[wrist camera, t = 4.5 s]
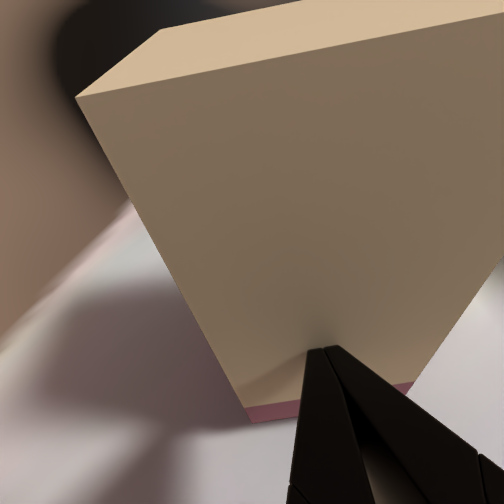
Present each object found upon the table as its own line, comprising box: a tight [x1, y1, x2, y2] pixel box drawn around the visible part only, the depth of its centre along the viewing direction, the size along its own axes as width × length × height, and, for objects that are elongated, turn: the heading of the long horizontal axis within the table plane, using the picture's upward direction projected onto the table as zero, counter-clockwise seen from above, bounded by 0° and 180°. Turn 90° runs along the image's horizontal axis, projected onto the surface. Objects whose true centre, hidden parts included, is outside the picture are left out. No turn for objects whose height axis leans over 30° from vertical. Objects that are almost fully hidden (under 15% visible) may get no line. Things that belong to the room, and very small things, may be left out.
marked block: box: [75, 0, 504, 423], centre depth 9 cm, size 6×6×12 cm
